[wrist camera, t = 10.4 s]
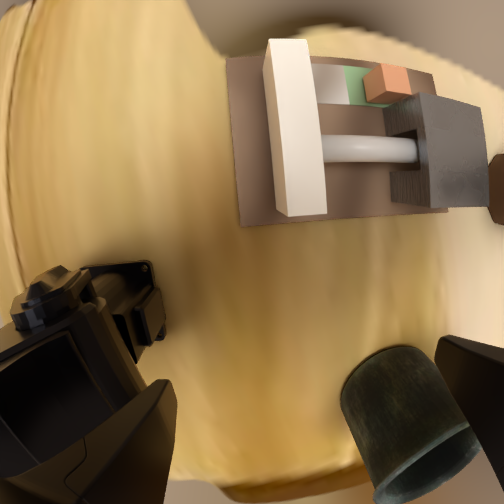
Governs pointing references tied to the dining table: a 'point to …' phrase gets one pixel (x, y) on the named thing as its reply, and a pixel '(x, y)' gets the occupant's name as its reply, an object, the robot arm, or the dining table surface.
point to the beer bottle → (496, 189)
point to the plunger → (311, 133)
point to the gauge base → (331, 123)
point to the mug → (406, 425)
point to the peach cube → (386, 84)
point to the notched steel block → (440, 152)
